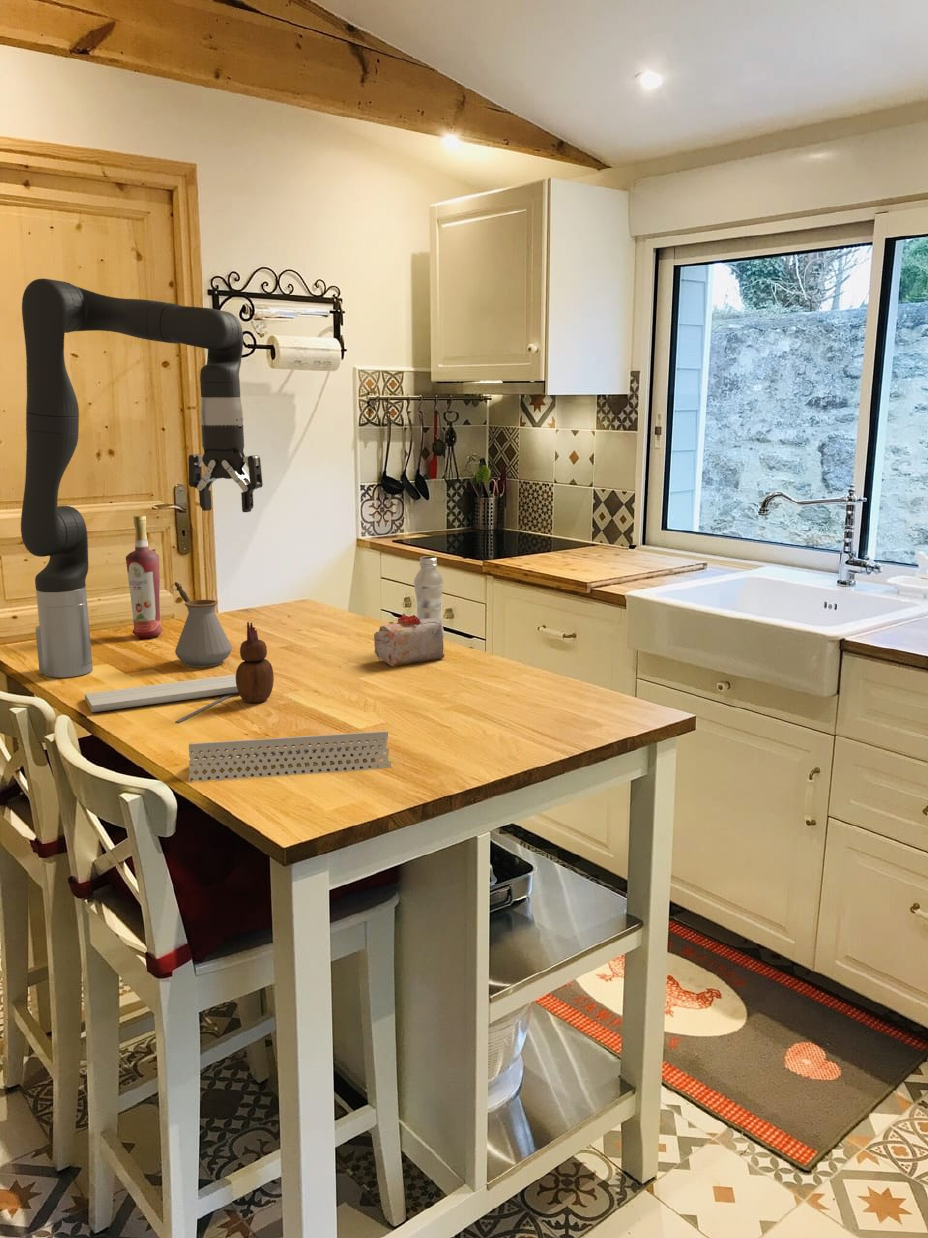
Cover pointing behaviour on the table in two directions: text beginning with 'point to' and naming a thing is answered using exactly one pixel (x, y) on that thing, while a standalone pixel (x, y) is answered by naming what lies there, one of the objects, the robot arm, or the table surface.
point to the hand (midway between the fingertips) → (226, 511)
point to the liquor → (144, 584)
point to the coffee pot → (201, 634)
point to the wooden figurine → (254, 669)
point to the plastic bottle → (429, 590)
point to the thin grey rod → (206, 707)
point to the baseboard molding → (161, 693)
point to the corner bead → (288, 755)
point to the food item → (409, 641)
